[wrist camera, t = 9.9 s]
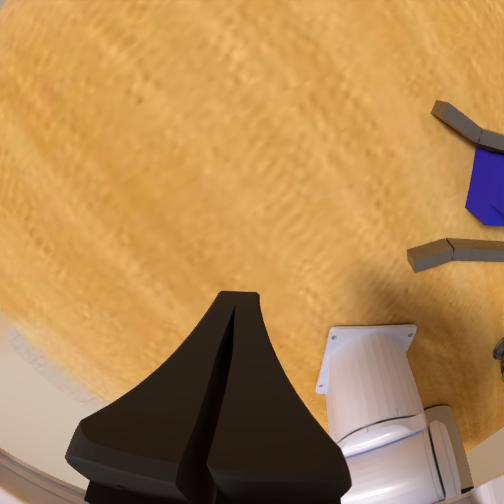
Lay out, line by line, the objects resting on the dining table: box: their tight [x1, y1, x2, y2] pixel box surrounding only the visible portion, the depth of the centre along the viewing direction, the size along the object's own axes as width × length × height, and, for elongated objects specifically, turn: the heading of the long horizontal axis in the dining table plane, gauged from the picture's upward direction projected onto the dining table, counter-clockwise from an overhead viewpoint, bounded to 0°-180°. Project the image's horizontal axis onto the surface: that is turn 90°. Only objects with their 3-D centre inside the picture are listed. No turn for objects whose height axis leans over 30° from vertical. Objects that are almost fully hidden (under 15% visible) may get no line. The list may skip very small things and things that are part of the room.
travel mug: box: [424, 406, 474, 494], centre depth 26 cm, size 8×8×18 cm
